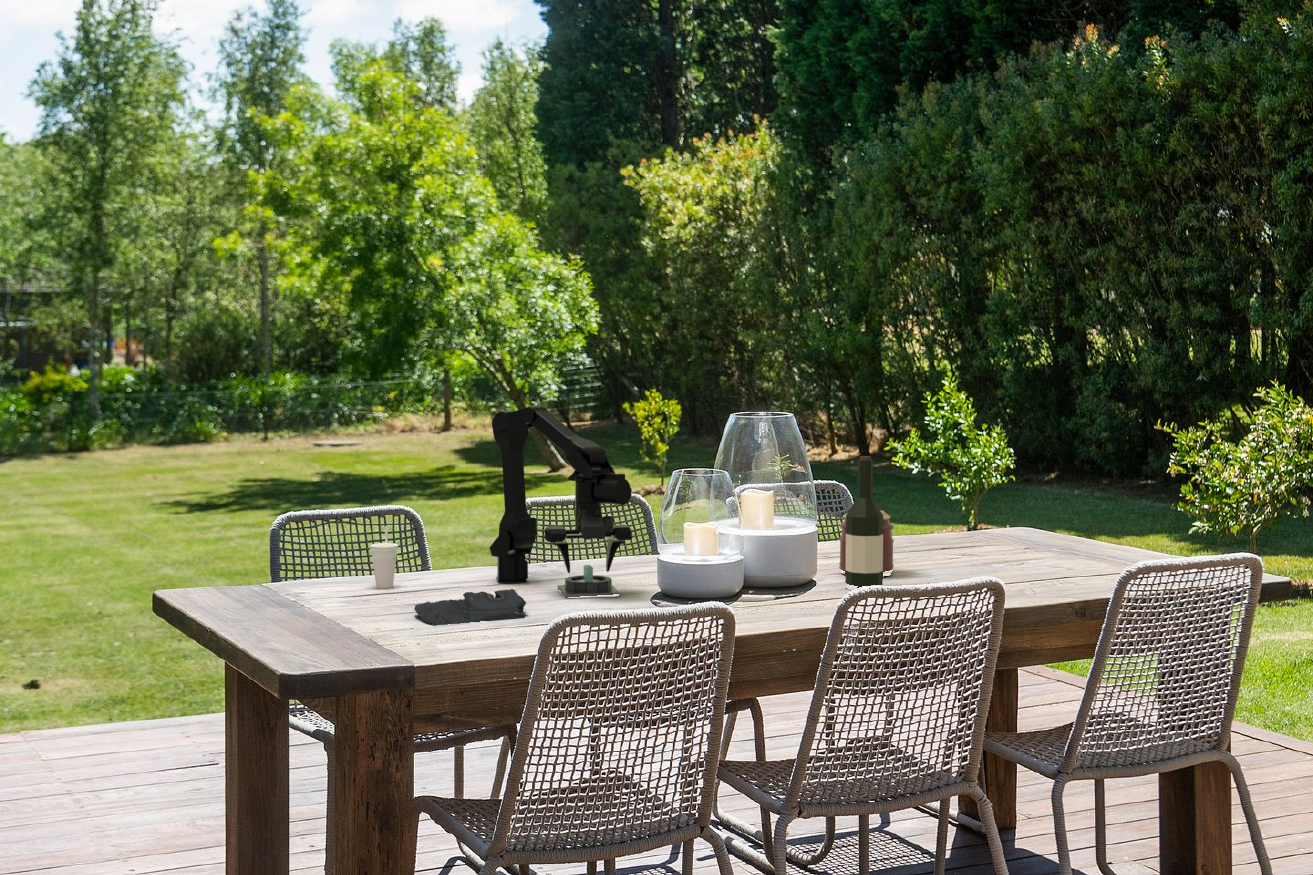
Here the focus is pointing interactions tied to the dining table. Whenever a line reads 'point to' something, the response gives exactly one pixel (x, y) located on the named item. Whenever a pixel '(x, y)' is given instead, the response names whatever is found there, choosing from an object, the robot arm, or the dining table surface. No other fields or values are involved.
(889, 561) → the canister
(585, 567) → the cap
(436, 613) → the dark slate chunk
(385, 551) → the smoothie
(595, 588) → the square ring flange
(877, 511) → the wine bottle
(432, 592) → the dining table surface
